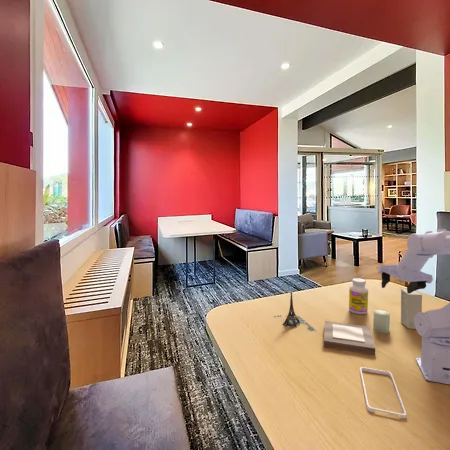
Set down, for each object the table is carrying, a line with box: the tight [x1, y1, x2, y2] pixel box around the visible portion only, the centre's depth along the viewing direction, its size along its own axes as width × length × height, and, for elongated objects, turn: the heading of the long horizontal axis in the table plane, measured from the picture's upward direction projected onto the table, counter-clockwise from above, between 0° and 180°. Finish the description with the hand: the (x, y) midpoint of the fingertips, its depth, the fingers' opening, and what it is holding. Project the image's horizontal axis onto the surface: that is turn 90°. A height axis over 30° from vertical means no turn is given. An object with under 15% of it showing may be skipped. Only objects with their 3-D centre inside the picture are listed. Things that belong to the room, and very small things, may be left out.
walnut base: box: [323, 320, 376, 356], centre depth 89 cm, size 14×14×2 cm
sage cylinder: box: [372, 309, 391, 335], centre depth 94 cm, size 5×5×6 cm
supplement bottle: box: [348, 277, 369, 315], centre depth 108 cm, size 7×7×13 cm
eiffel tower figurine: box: [273, 291, 316, 332], centre depth 100 cm, size 15×10×13 cm
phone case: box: [359, 366, 407, 420], centre depth 65 cm, size 7×1×15 cm
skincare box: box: [400, 288, 423, 330], centre depth 96 cm, size 6×4×12 cm
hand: (395, 288), depth 92 cm, fingers open, 7 cm apart
